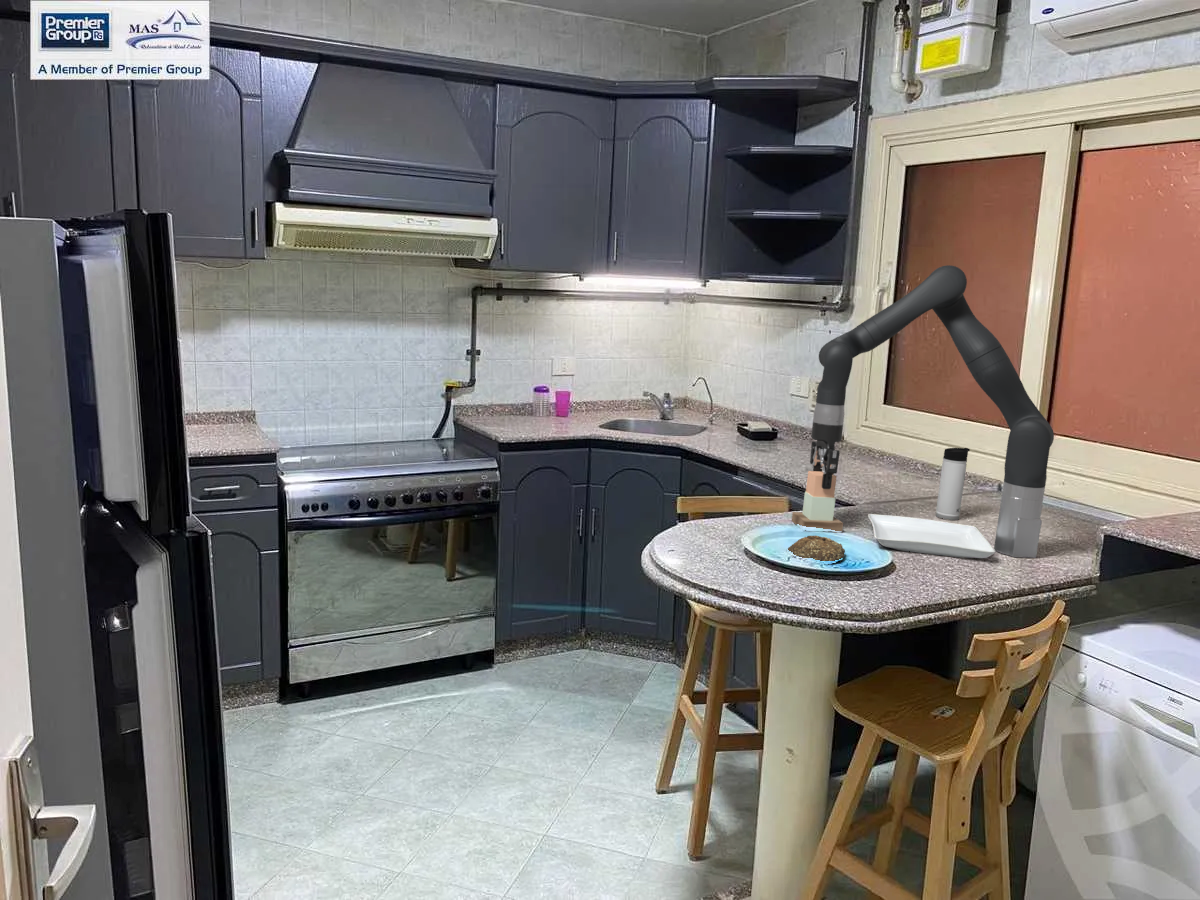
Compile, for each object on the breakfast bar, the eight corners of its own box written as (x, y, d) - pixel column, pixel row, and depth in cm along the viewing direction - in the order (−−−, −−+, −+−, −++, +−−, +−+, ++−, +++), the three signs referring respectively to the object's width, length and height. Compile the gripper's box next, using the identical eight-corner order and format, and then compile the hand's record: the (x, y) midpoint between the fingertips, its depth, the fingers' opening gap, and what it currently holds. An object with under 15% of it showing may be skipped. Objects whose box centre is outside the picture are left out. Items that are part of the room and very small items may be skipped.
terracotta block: (834, 497, 238) (836, 476, 237) (813, 496, 237) (815, 475, 236) (826, 492, 243) (828, 471, 242) (805, 491, 243) (808, 471, 242)
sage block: (832, 520, 239) (835, 497, 238) (810, 519, 238) (812, 497, 237) (824, 514, 245) (827, 492, 243) (802, 513, 244) (804, 491, 243)
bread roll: (850, 556, 217) (853, 536, 216) (834, 568, 206) (837, 546, 205) (797, 546, 223) (799, 525, 222) (779, 557, 213) (781, 535, 212)
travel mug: (963, 521, 260) (973, 450, 256) (939, 519, 260) (949, 448, 256) (955, 515, 266) (965, 446, 262) (932, 514, 266) (941, 444, 263)
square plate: (994, 566, 217) (997, 550, 217) (873, 552, 223) (875, 536, 222) (974, 537, 243) (976, 523, 243) (865, 525, 249) (867, 511, 248)
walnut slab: (842, 532, 237) (843, 523, 237) (804, 531, 236) (805, 521, 236) (828, 522, 247) (829, 513, 247) (791, 521, 246) (792, 511, 246)
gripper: (853, 426, 230) (845, 492, 233) (832, 418, 244) (825, 480, 247) (823, 425, 229) (816, 491, 232) (804, 416, 243) (797, 479, 246)
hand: (821, 485), depth 240 cm, fingers open, 6 cm apart
